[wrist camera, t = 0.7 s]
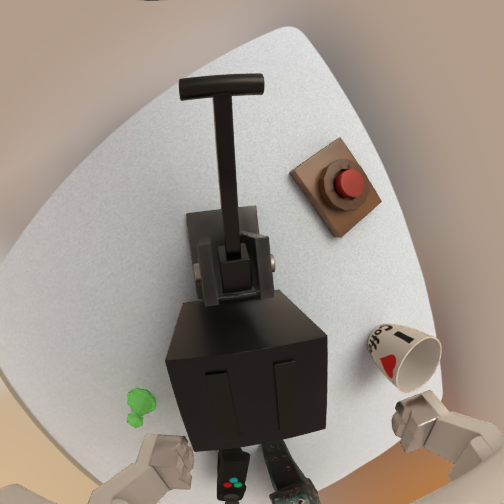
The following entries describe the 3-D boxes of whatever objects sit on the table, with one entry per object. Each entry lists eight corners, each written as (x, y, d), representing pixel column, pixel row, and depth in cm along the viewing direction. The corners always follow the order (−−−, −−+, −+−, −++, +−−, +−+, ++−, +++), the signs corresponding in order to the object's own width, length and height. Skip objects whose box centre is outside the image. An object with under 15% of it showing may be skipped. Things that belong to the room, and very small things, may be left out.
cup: (378, 306, 37) (421, 328, 27) (408, 325, 38) (449, 346, 28) (349, 353, 37) (385, 386, 27) (382, 368, 38) (418, 397, 28)
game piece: (123, 401, 33) (113, 425, 27) (134, 383, 33) (124, 407, 27) (148, 415, 33) (142, 441, 27) (161, 398, 33) (155, 424, 27)
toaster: (182, 302, 33) (164, 362, 18) (279, 289, 34) (329, 336, 19) (197, 372, 34) (194, 454, 19) (285, 359, 35) (327, 430, 20)
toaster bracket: (187, 213, 32) (169, 206, 18) (254, 206, 33) (285, 194, 19) (198, 297, 33) (191, 345, 19) (263, 288, 34) (297, 328, 20)
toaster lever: (180, 80, 15) (177, 76, 13) (257, 75, 15) (266, 71, 13) (203, 278, 22) (204, 296, 20) (263, 270, 23) (270, 287, 21)
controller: (212, 469, 36) (216, 511, 26) (217, 423, 35) (222, 470, 25) (237, 470, 37) (244, 511, 27) (246, 424, 36) (256, 470, 26)
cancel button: (329, 180, 30) (335, 178, 29) (347, 166, 31) (354, 164, 29) (344, 203, 31) (351, 202, 29) (361, 188, 31) (369, 187, 29)
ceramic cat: (251, 439, 36) (278, 539, 17) (290, 426, 37) (334, 522, 17) (280, 491, 39) (306, 564, 19) (310, 481, 40) (344, 551, 20)
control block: (289, 172, 33) (297, 167, 29) (334, 140, 33) (345, 133, 30) (334, 237, 35) (346, 238, 31) (374, 202, 35) (388, 200, 32)
